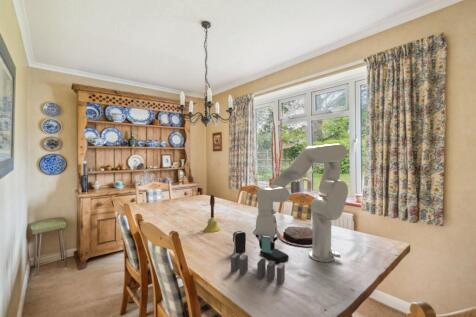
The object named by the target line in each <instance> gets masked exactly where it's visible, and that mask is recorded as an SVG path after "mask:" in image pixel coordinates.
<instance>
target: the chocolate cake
mask: <svg viewBox="0 0 476 317" xmlns="http://www.w3.org/2000/svg"><path fill="white" fill-rule="evenodd" d="M280 235H281V237H280V238H279V239H280V240H281V242H284V243H286V244H289V245H291V246H295V247H303V248H312V228H310V227H307V226H306V227H305V226H288V227H286V228H285V229H284V231H283V232H281V233H280Z"/></svg>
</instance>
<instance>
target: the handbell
mask: <svg viewBox="0 0 476 317" xmlns="http://www.w3.org/2000/svg"><path fill="white" fill-rule="evenodd" d="M215 202H216V201H215V195H214V194H211V195H210V198H209V206H210V218H208V220H207V225H206V226H205V228H204V229H203V231H204V232H205V233H209V234H211V233H212V234H213V233H218V232H221V231H222V229H221V227H219V226H218V221H217V219H216V218H215V211H214V210H215V209H214V208H215V205H216V203H215Z"/></svg>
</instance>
